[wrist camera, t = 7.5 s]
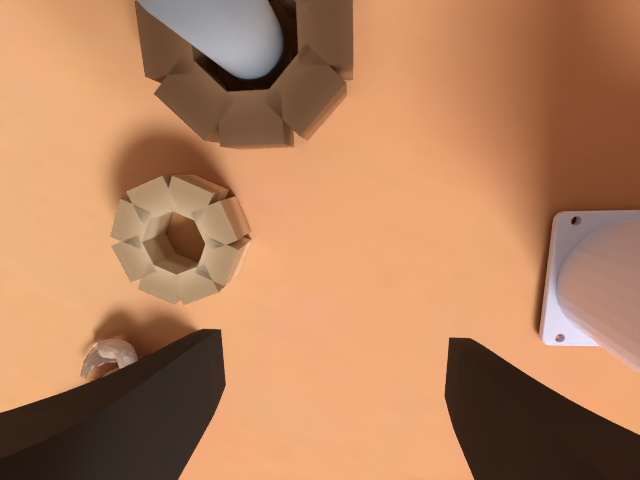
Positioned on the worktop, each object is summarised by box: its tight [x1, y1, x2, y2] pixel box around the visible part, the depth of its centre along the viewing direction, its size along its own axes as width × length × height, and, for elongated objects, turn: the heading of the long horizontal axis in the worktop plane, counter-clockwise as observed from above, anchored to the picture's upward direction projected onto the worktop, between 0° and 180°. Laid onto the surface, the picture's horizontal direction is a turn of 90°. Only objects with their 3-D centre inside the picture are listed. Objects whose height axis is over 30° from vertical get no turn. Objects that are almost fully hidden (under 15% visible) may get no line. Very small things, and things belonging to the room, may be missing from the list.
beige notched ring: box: [110, 174, 251, 305], centre depth 20 cm, size 7×7×2 cm
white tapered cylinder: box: [137, 0, 292, 90], centre depth 14 cm, size 3×3×9 cm
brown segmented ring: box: [135, 0, 353, 149], centre depth 17 cm, size 10×10×3 cm
